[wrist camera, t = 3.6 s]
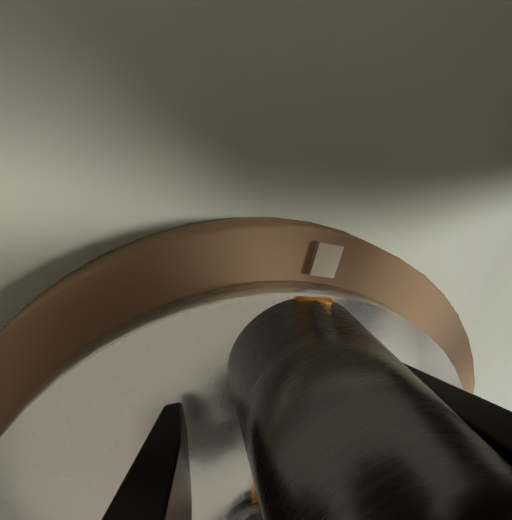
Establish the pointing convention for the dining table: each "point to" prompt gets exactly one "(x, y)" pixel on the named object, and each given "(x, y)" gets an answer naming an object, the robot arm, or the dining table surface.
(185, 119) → the dining table surface
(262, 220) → the dial base
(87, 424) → the dial
